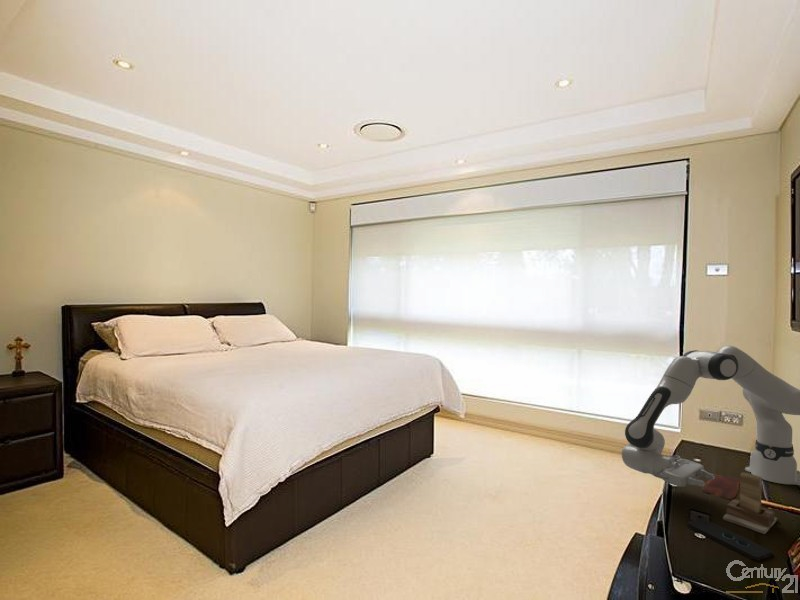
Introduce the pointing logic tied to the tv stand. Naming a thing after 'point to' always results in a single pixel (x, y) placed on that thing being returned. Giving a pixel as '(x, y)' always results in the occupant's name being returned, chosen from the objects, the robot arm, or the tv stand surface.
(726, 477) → the reddish wooden board
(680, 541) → the tv stand surface
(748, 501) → the oak plank
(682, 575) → the tv stand surface
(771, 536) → the tv stand surface
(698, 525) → the smart home device
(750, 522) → the wooden plank holder
